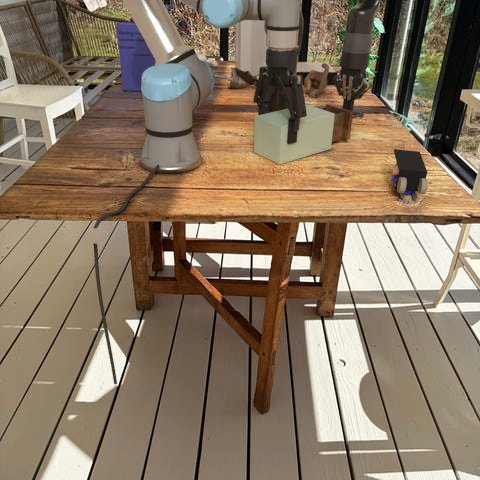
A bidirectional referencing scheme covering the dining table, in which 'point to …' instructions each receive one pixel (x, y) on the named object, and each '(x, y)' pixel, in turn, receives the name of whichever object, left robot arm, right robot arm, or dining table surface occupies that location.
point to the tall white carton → (250, 46)
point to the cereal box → (133, 55)
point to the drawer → (342, 121)
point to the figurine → (239, 78)
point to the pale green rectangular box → (308, 137)
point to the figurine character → (409, 173)
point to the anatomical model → (316, 81)
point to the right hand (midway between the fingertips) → (347, 112)
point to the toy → (203, 58)
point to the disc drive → (306, 67)
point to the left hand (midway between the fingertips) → (277, 136)
